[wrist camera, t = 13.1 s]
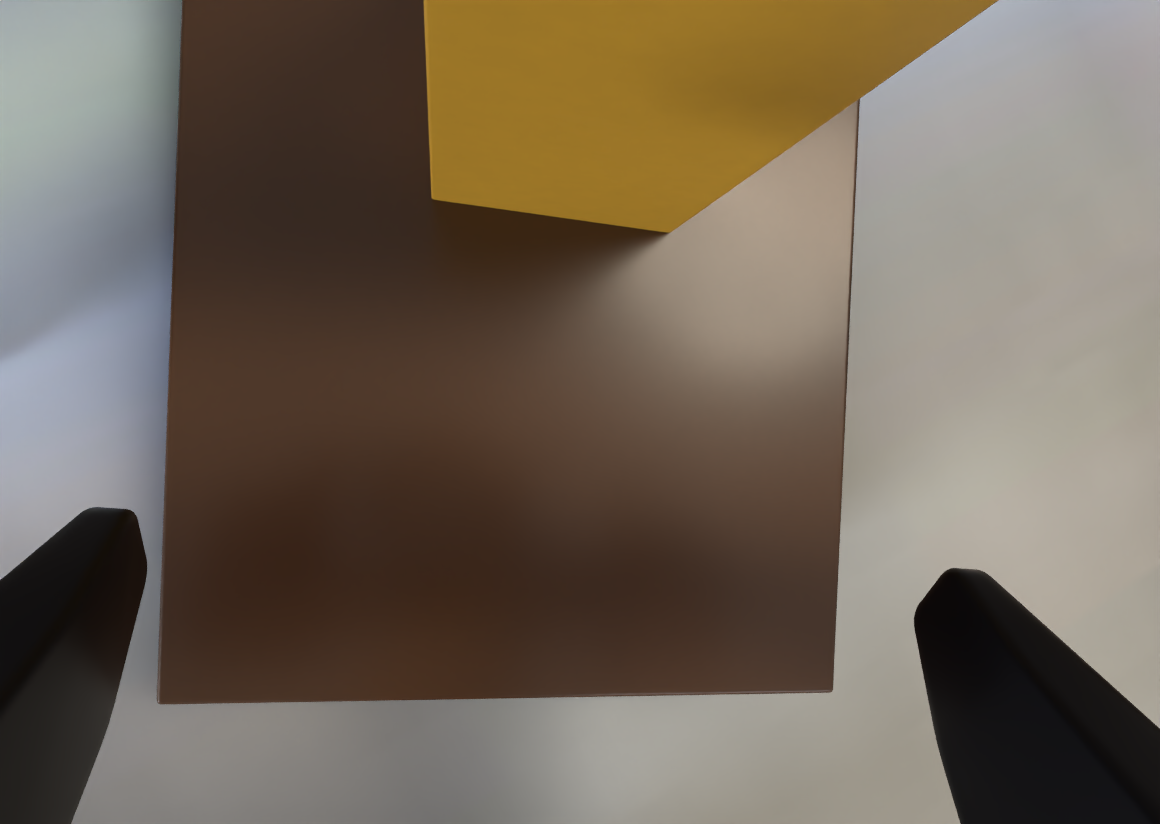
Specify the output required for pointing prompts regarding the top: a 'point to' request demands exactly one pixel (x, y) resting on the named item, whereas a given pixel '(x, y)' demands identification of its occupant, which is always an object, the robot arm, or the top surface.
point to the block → (648, 94)
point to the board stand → (482, 402)
